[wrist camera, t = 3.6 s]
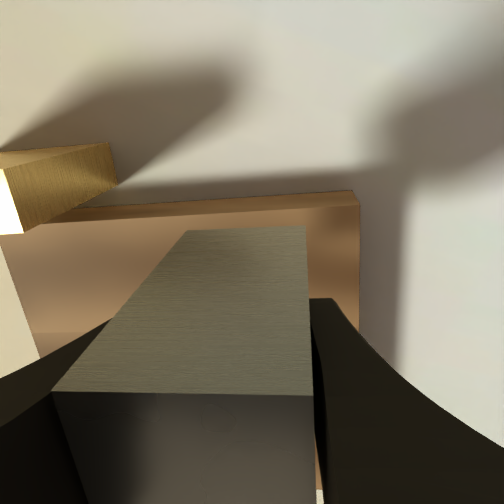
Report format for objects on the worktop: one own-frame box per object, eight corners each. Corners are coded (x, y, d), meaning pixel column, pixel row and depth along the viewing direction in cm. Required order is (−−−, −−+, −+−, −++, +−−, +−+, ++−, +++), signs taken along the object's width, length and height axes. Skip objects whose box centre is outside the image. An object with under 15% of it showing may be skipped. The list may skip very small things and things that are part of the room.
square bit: (308, 330, 13) (318, 574, 6) (201, 330, 13) (107, 557, 7) (305, 225, 11) (313, 395, 5) (186, 230, 12) (50, 391, 5)
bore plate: (351, 451, 23) (357, 491, 21) (103, 445, 26) (83, 480, 23) (351, 190, 17) (360, 205, 15) (29, 211, 20) (-7, 227, 17)
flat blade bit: (118, 185, 19) (23, 232, 12) (6, 193, 19) (-139, 241, 13) (108, 142, 18) (2, 169, 12) (-8, 152, 19) (-167, 183, 12)
